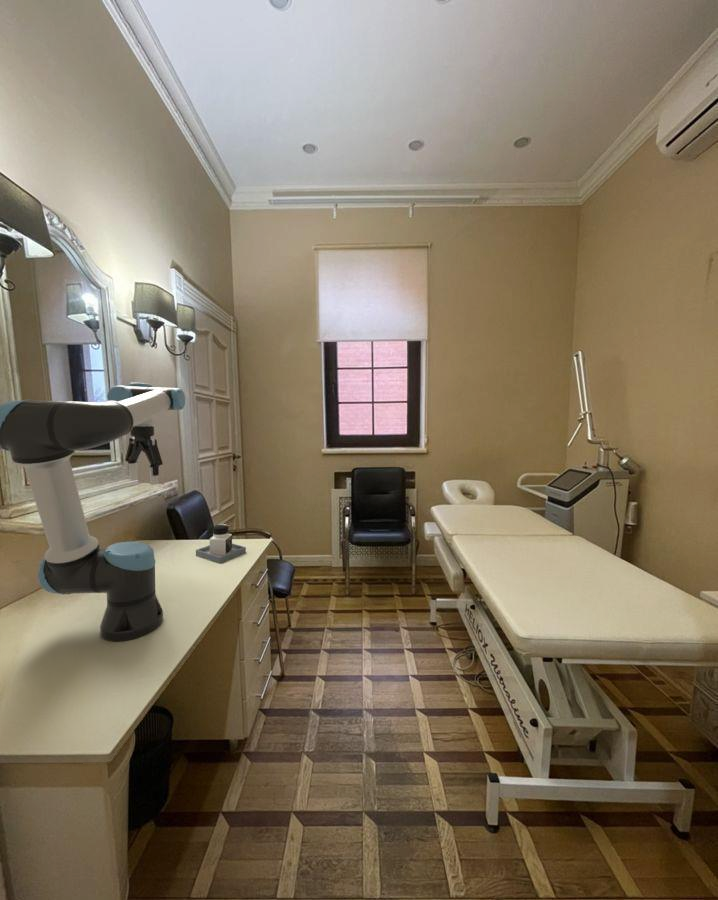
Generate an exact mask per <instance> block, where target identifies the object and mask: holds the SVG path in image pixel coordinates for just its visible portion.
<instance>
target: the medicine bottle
mask: <svg viewBox="0 0 718 900" xmlns="http://www.w3.org/2000/svg"><path fill="white" fill-rule="evenodd" d="M212 530H213V534H212V535H213V536H211V537H210V538H209V545H210V554H212V555H225V554H228V553H229V552H230V551H231V550H232V543H233V534H232V533H229V525H227V524H226V523H225V524H224V523H221V524H220V523H219V524H216V525H214V526H213V528H212Z"/></svg>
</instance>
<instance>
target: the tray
mask: <svg viewBox="0 0 718 900" xmlns="http://www.w3.org/2000/svg"><path fill="white" fill-rule="evenodd" d="M246 549H247V548H246V546H243V545H239V544H236V543H233V542H232V550H231V551H230V552H229V553H228V554H225V555H212V554H210V544H209V545H206V546H204V547H200V548H198V549H195V556H196V557H199V558H202V559H204V560H208V561H211V562H213V563H217V564H222V563H224V562H227V561H228V560H232V559H233V558H236V557H238V555H239V556H241V555H244V554H246V553H247V550H246ZM243 553H244V554H243Z"/></svg>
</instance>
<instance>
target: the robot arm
mask: <svg viewBox="0 0 718 900" xmlns="http://www.w3.org/2000/svg"><path fill="white" fill-rule="evenodd" d="M106 394H107V395H106V398H107V400H104V401H102V402H94V401H93V402H90V401H74V400H73V401H72V400H70V401H59V400H57V401H56V400H39V399H38V400H36V399H35V400H34V399H23V400H20V399H19V400H9V401H5V402H4V403H3V402H2V403H1V404H0V450H3V451H8V452H9V453H10V456H11V460H12V462H13V463H14V464H16V465H18V466H22V467H23V468H24V471H25V474H26V479H27V481H28V484H29V487H30V490H31V494H32V496H33V498H34V499H33V500H34V502H35V503H34V504H35V505H36V508H37V512H38V514H39V517H40V518H39V519H40V521H41V524H42V527H43V530H44V533H45V537H46V541H47V543H48V546H49V547H48V549H47V550H46V552H45V553H44V557H42V559H41V561H40V562H39V565H38V569H39V571H37V579H38V582H39V584H40V586H41V587H42V589H43V590H45V591H46V592H48V593H51V594H61V595H71V594H106V608H105V610H104V613H103V616H102V620H101V623H100V637H101V638H102V639H104V640H106V641H110V642H123V641H124V642H125V641H129V640H134V639H138V638H140V637H143V636H145V635H147V634H150V633H151V632H153V631H154V630H156V629H157V628H158V627H159V626H161V624H162V622H163V620H164V611H163V607H162V605H161V603H160V602H159V601H160V600H159V598H158V596H157V595H156V559H155V552H154V551H155V550H154V549H153V547H152V546H151V545H150V544H148V543H144V542H141V541H132V540H131V541H125V542H122V541H121V542H116V543H115V542H114V543H112V544H110V545H109V546H107V547H106V548H105V549H102V548H101V546H100V543H99V539H98V538H97V537H96V536H92V535H90V532H89V527H88V524H87V521H86V520H87V519H86V517H85V512H84V509H83V505H82V502H81V498H80V494H79V490H78V487H77V482H76V479H75V475H74V471H73V468H72V464H71V460H70V459H71V457H72V456H73V455H74V454H75V452H76V451H83V450H88V449H93V448H97V447H100V446H102V445H105V444H108V443H111V442H113V441H117V440H118V439H120V438H122V437H124V436H126V435H128V434H130V436H131V437H129V439H128V446H127V450H126V454H125V459H124V461H125V462H127V463H128V467H129V469H128V471H129V473H128V474H129V481H130V482H133V481H138V480H139V467H138V466H139V465H138V459H139V457H140V454H141V452H143V453H144V454H145V456H146V458H147V461H149V462H148V463H149V464H150V465H149V481H150V482H149V484H150V485H151V486H153V485H159V484H160V480H159V479H160V477H159V474H160V473H159V467H160V466H163V465H164V463H163V460H162V457H161V453H160V449H159V448H158V441H157V439H156V438H155V439H154V438H153V439H152V438H151V437H154V436H155V427H154V426H153V425H154V424H155V422H154V419H155V417H157V416H158V415H161V414H162V413H164V412H167V411H181V410H183V409H184V408H185V405H186V395H185V392H184V390H183V389H182V388H179V387H153V385H152V384H151V383H147V382H130V383H129V385H128V386H127V385H114V386H112V387H110V389H109V390H108V392H107V393H106Z"/></svg>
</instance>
